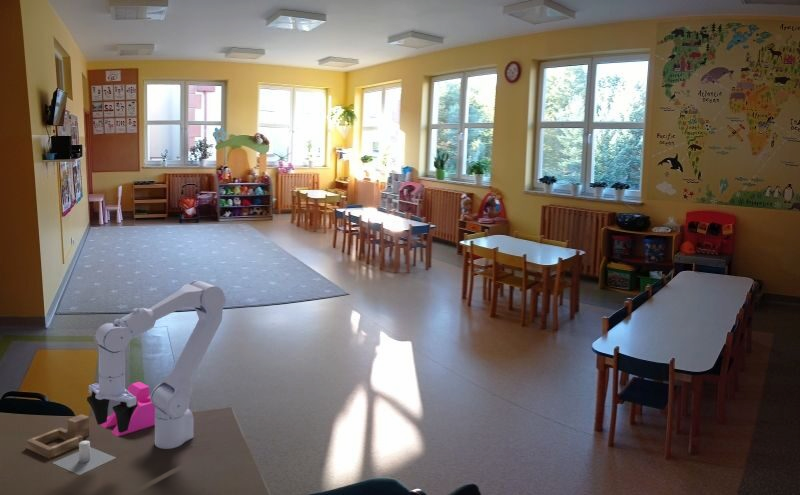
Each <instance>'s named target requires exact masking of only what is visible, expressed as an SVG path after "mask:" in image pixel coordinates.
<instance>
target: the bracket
mask: <svg viewBox="0 0 800 495" xmlns="http://www.w3.org/2000/svg"><path fill="white" fill-rule="evenodd" d="M126 390H127V391H128V392H129V393H131V394H132V395H133V396H135V397H136V402H138V406H137V407H136V409H135V410H134V412H133V414H132V417H131V419H130V423H129V427H128V430H127V431H124V432H122V433H119V431H118V426H117V418H116V414H115V412H114V411H113V412H112V413H111V414H110V415H109V416H107V422H105V423H103V424H100V426H101V427H103V428H105V429H106V428H111V427H113V426H115V427H114V428H113V430H111V432H110V433H111V434H113V435H115V436H116V437H120V436H123V435H127V434H129V433H133V432H136V431H139V430H143V429H146V428H149V427H152V426H155V406H154V405H153V404H152V403H151V400H150V396H151V395H150V386H149V385H147V384H145V383H143V382H141V381H137V382H133V383H131V384H130V385H128V388H127V389H126Z"/></svg>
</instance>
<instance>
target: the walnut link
mask: <svg viewBox="0 0 800 495" xmlns="http://www.w3.org/2000/svg"><path fill="white" fill-rule="evenodd" d="M87 437H90V416H88V415H86V414H82V413H81V414H78V415H76V416H72V417H71V418H67V429H65V428H63V427H61V426H60V427H58V428H54V429H52V430H49V431H48V432H44V433H43V434H39V435H37V436H35V437H30V438H29V439H26V449H28V450H29V451H32V452H33V453H36V454H38V455H41V456H42V457H45V458H47V459H52V458H54V457H57V456H59V455H61V454H63V453H66V452H68V451H70V450H71V451H72V450H73V449H76V448H79V443H80V442H81V441H84V439H85V438H87ZM57 439H61V440H62V442H59V443H57V444H55V445H53V446H50V445H47V444H48V443H50V442H53V441H56V440H57Z"/></svg>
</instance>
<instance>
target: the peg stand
mask: <svg viewBox="0 0 800 495" xmlns="http://www.w3.org/2000/svg"><path fill="white" fill-rule="evenodd" d="M115 459H117V457H116V456H114V455H111V454H109V453H106V452H104V451H101V450H98V449H96V448H94V447H91V441H90V440H83V441H81V442H80V443H79V446H78V451H76V452H74V453H72V454H70V455H67V456H65V457H63V458H61V459H58V460H56V461H53V462H52V464H53V465H56V466H58V467H60V468H62V469H64V470H67V471H69V472H72V473H73V474H76V475H78V476H80V475H83V474H85V473H87V472H89V471H91V470H93V469H96V468H98V467H99V466H100V467H101V466H102V465H104V464H107V463H108V462H110V461H112V460H115Z"/></svg>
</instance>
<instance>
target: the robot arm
mask: <svg viewBox="0 0 800 495" xmlns="http://www.w3.org/2000/svg"><path fill="white" fill-rule="evenodd" d="M226 302H227V298H226V296H225V293H224V290H223V289H222V288H221V287H220V286H217V285H213V284H210V283H207V282H205V281H203V280H201V279H195V280H192V281H191V282H189V283H186V284H184V285H183V286H182V287H181V288H180V289H178V290H177V291H175V292H174V293H172V294H170V295H169V296H168V297H166V298H164V299H162V300H161V301H159V302H158V303H156V304H154V305H153V306H151V307H149V308H146V307H139V308H138V307H135V308H133V309H132V310H131V311H132V312H130V313H129V314H127V315H124V316H123V317H121V318H116V319H114V320H113V321H114V322H113V323H112V322H110V323H109V322H107V323H104V324H102V325H100V326H99V327H98V329H96V331H95V335H93V340H94V342H95V343H96V345H98V383H97V382H96V383H93V384H90V385H89V384H88V394H90V396H88V397H86V401H87V403H88V404H89V405H90V407H91V409H92V411H93V414H94V417H95V420H96V423H97V425H98V426H99V425H100V424H103V423H105V422H107V417H108V415H109V414H108V413H109V404H110V401H111V400H112V401H115V402H119V404H117V405H114V406H112V410H113V412H115V414H116V418H117V425H116V426H118V431H119V433H122V432H124V431H127V430H128V427H129V423H130V419H131V417H132V414H133V412H134V410H135V409H136V407H137V406H138V402H136V397H135V396H133V395H132V394H131V393H129V392H128V391H127V389H126V356H125V354H126V350H125V349H126V348H127V347H128V345H129V343H130V342H131V341H132V340H134V339H135V338H137V337H139V336H141V335H143V334H144V333H147V332H148V331H150V330H151V329H153V328H154V327H155V325H156V322H157V321H158V320H159V319H162V318H164V317H166V316H168V315H171V314H172V313H174V312H177V311H179V310H181V309H183V308H185V307H187V308H194V310H195V312H196V314H197V316H198V321H197V323H196V324H195V325H194V326H195V327H194V328H193V329H192V332H191V334H190V336H189V338H188V340H187V341H186V344H185V346H184V347H183V349H182V351H181V353H180V355H179V357H178V359H177V361H176V363H175V364H174V367H173V369H172V371H171V372H170V374H167V375H165V376H164V377H162V379H161V380H160V382H159V384H157V385H156V386H155V387H154V388H153V389H152V391H151V393H150V395H149V396H150V400H151V403H152V404H153V405H154V406H155V425H154V445H155V446H156V448H159V449H164V450H165V449H167V450H168V449H169V450H170V449H174V448H177V447H180V446H182V445H183V444H185V442H188V441H190V440H191V439H193V438H194V431H195V430H194V415H193V412H192V411H191V410H190V409H189V408H190V407H189V406H190V399H191V396H192V394H193V389H192V384H191V382H192V380H193V378H194V375H196V373H197V371H198V369H199V366H200V364H201V363H202V360H203V358H204V356H205V354H206V352H207V350H208V349H209V346H210V344H211V342H212V341H213V339H214V336H216V333H217V331H218V329H219V327H220V325H221V323H222V320H223V313H224V312H223V310H224V306H225V304H226ZM100 426H101V425H100Z"/></svg>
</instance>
